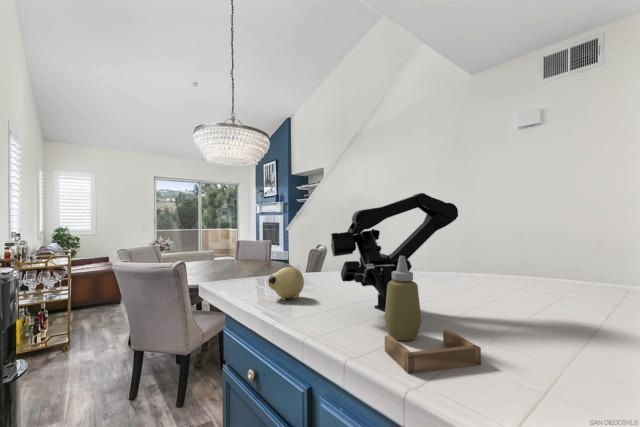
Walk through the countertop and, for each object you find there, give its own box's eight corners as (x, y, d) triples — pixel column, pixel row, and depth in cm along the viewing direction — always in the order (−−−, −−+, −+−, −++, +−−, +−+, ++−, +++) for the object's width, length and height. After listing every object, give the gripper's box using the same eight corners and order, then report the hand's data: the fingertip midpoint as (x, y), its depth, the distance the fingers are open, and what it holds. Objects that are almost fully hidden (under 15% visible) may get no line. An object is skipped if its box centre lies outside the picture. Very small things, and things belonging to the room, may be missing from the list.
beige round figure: (272, 294, 106) (272, 264, 107) (305, 295, 105) (305, 264, 106) (264, 302, 97) (264, 268, 97) (301, 302, 96) (301, 269, 96)
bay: (384, 350, 60) (384, 335, 60) (448, 344, 63) (448, 329, 63) (408, 373, 51) (407, 355, 51) (480, 364, 54) (480, 347, 54)
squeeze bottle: (424, 345, 63) (423, 258, 63) (384, 342, 64) (383, 257, 65) (419, 331, 71) (418, 254, 71) (384, 329, 72) (383, 253, 73)
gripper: (389, 265, 94) (408, 311, 83) (332, 267, 90) (343, 316, 79) (401, 242, 87) (423, 288, 76) (339, 243, 83) (353, 292, 72)
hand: (385, 297), depth 76 cm, fingers closed
